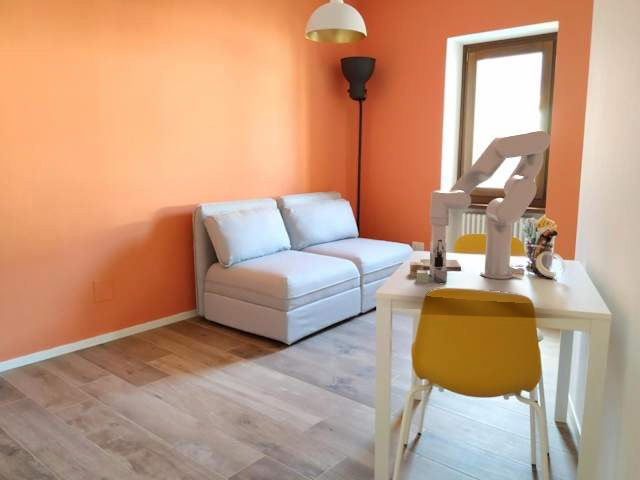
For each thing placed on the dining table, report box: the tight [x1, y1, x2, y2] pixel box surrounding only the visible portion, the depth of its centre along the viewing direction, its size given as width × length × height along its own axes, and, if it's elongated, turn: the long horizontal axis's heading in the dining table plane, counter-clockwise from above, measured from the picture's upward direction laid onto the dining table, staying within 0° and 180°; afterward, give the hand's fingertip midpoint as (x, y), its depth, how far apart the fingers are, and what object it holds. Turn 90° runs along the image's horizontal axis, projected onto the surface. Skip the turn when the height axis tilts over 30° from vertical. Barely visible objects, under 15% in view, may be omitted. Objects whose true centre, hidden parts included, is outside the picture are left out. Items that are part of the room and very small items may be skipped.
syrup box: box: [429, 240, 447, 278], centre depth 212 cm, size 6×6×14 cm
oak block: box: [409, 261, 424, 278], centre depth 214 cm, size 5×5×5 cm
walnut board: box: [420, 258, 462, 271], centre depth 230 cm, size 16×14×2 cm
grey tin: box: [433, 268, 448, 284], centre depth 203 cm, size 5×5×5 cm
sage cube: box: [416, 270, 429, 284], centre depth 204 cm, size 4×4×4 cm
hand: (437, 264), depth 213 cm, fingers closed on syrup box, 6 cm apart
